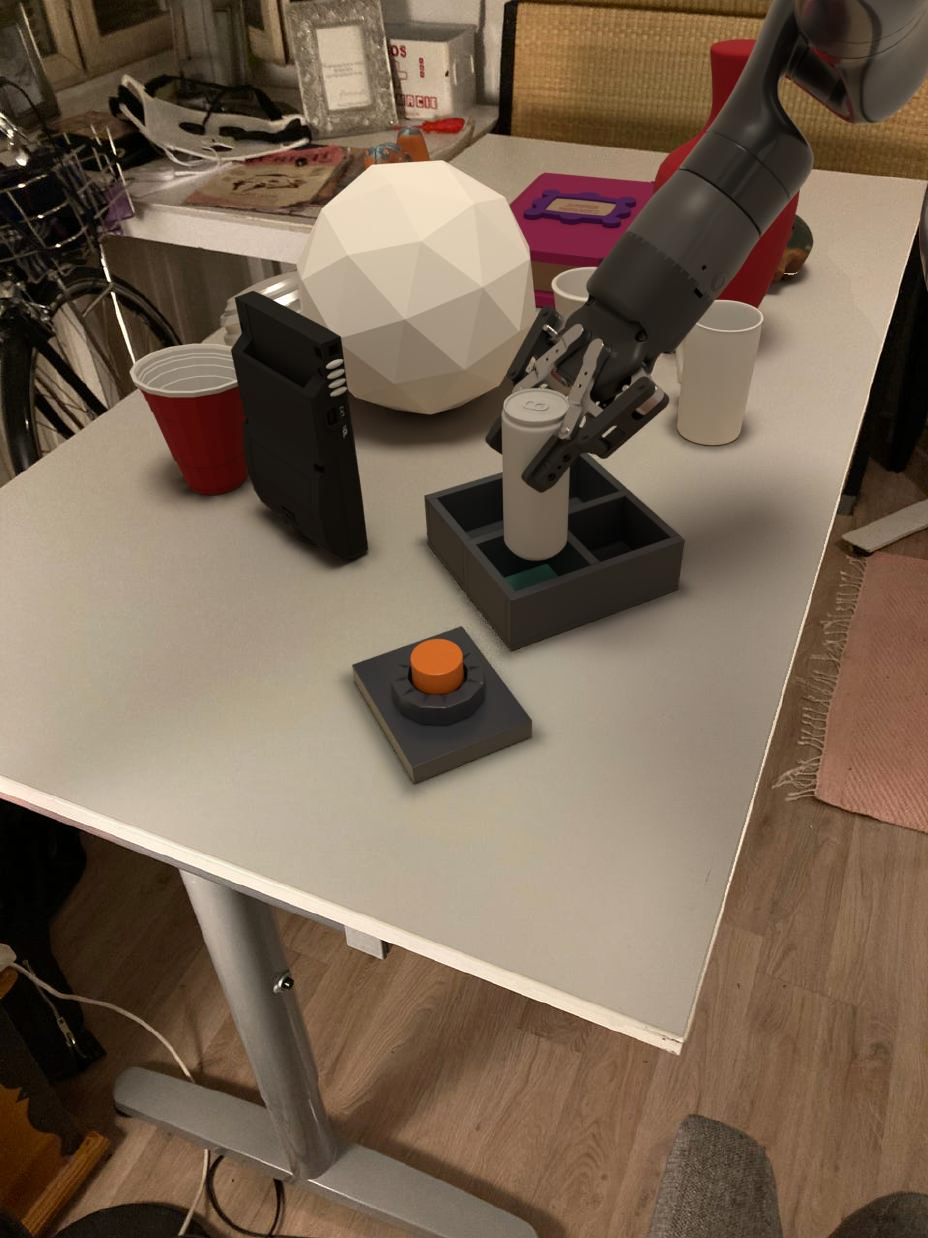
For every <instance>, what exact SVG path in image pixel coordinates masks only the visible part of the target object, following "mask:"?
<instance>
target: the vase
mask: <svg viewBox="0 0 928 1238" xmlns="http://www.w3.org/2000/svg"><path fill="white" fill-rule="evenodd" d="M756 40H757V39H753V38H752V39H751V38H738V39H737V38H736V39H735V38H734V39H726V40H722V41H718V42H715V43H713V44H711V46H710V48H709V57H710V58H709V59H710V70H711V72H710V73H711V97H712V98H711V109H710V113H709V116H708V119H707V121H706V123H705V125H704V127H703V128H702V129H701V130H700V131H699V133H698V134H696V135H695V136H694V137H692V138H691V139H689V140H688V141H687V142H685V143H683V144H681V145H680V146H678V147H677V148H675V149H673V150H672V151H671V152H670V153H668V155H666V157H665V158H664V159H663V161H661V163H660V164H659V166H658V170H657V172H656V175H655V178H654V181H655V182H654V189H653V195H654V194H655V193H656V192H657V191H658V190H659V189H660V188H661V187H662V186H663V185H664V184H665V183H666V182H667V181H668V180H669V179H670V177H671V176H672V175H673V174H674V173H675V172H676V170H678V168H679V166H680V165H681V164H682V162H683V161H684V160H685V158H686V157H687V156H688V155H689V153H690V152H691V151H692V149H693V148H694V147H695V145H696V144H697V143H698V141H699V140H700V139H701V137H702V136H703V135H704V134H705V132H706V131H707V130H708V128H709V127H710V126H711V124H712V123H713V121H714V120H715V119H716V117H717V116H718V114H719V113H720V111H721V109H722V108H723V106H724V105H725V103H726V101H727V99H728V98H729V96H730V94H731V93H732V91H733V89H734V87H735V85H736V83H737V81H738V79H739V77H740V75H741V73H742V71H743V69H744V67H745V65H746V63H747V61H748V59H749V57H750V54H751V52H752V50H753V48H754V45H755V43H756ZM800 191H801V188H800V189H799V191H798V192H797V193H796V194H795V196H794V197H793V198H792V199H791V200H790V202H789V203H788V204H787V205H786V207H785V208H784V209H783V210H782V212H781V213H780V214H779V215H778V217H777V218H776V219H775V220H774V222H773V223H772V224H771V225H770V227H769V228H768V229H767V230H766V231H765V233H764V234H763V235H762V236H761V237H760V238H759V240H758V242H757V243H756V245H755V246H754V247H753V249H752V251H751V252H750V254H749V255H748V257H747V259H746V260H745V262H744V264H743V265H742V267H741V268H740V270H739V271H738V272H737V274H736V275H735V276H734V278H733V279H732V280H731V281H730V282H729V284H728V285H727V286H726V287H725V289H724V290H723V291H722V292H721V294H720V295H719V296H718V297H717V298H716V300H730V301H737V302H742V303H745V304H748V305H751V306H753V307H755V308H757V309H758V310H759V307H760V305H761V304H762V302H763V300H764V299H765V296H766V294H767V292H768V291H769V288H770V286H771V284H772V283H771V282H772V280H773V278H774V275H775V273H776V271H777V269H778V266H779V264H780V261H781V258H782V256H783V253H784V251H785V248H786V245H787V242H788V239H789V236H790V232H791V229H792V226H793V222H794V218H795V214H796V215H797V210H798V206H799V200H800V199H799V198H800Z"/></svg>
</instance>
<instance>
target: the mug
mask: <svg viewBox="0 0 928 1238" xmlns="http://www.w3.org/2000/svg"><path fill="white" fill-rule="evenodd" d="M763 322H764V315H763V313H762V312H761V310H759V308H758V309H757V308H755V307H753V306H751V305H748V304H745V303H742V302H737V301H730V300H715V301H714V302H713V304H712V305H711V306H710V307H709V309H708V310H707V311H706V312H705V314H704V315H703V316H702V317H701V318H700V320H699V321H698V322H697V323H696V325H695V326H694V327H693V328H692V330H691V331H690V332H689V333H688V335H687V336H686V337H685V338H684V340H683V341H682V342H681V343H680V345H679V346H678V347H677V348H676V350H675V364H676V365H675V366H676V379H677V383H678V384H679V385H680V390H679V399H678V410H677V420H676V421H677V422H676V428H677V431H678V433H679V434H680V435H681V436H682V438H684V439H685V440H688V441H690V442H692V443H696V444H699V445H705V446H721V445H726V444H729V443H731V442H733V441H735V440H736V439H737V438H739V436H740V434H741V431H742V426H743V422H744V418H745V413H746V410H747V409H746V408H747V405H748V404H747V403H748V399H749V395H750V390H751V389H750V388H751V384H752V378H753V373H754V368H755V364H756V359H757V356H758V355H757V354H758V350H759V346H760V345H759V344H760V339H761V334H762V327H763Z"/></svg>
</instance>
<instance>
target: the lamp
mask: <svg viewBox="0 0 928 1238" xmlns="http://www.w3.org/2000/svg"><path fill="white" fill-rule="evenodd" d="M509 205H510V203H508V200H507V198H506V197H505V196H504V195H502V194H500V193H499V192H497V191H495V190H493V189H491V188H490V187H488V186H487V185H485V184H483V183H482V182H480V181H478V180H477V179H475V178H473V177H472V176H470V175H468V174H466V173H465V172H463V171H461V170H460V169H458V168H457V167H455V166H453V165H452V164H450V163H448V162H447V161H444V160H443V159H442V160H430V161H424V162H408V163H393V164H377V165H371V166H370V167H369V168H368V169H366V170H365V171H364V170H363V172H361V174H360V175H358V176H357V177H356V178H355V179H354V180H353V181H352V182H350V183H349V184H348V185H347V186H346V187H345V188H343V189H342V190H341V191H340V192H339V193H338V194H337V195H336V196H334V197H333V198H332V199H331V200H329V202H327V203H326V205H324V206H323V207H322V208H321V209H320V212H319V214H318V216H317V218H316V221H315V223H314V225H313V226H312V229H311V231H310V233H309V235H308V237H307V239H306V243H305V244H304V246H303V249H302V251H301V252H300V255H299V257H298V259H297V261H296V264H295V266H296V270H293V271H290V272H285V273H281V274H277V275H274V276H272V277H269V278H266V279H264V280H261V281H259V282H257V283H254V284H252V285H251V286H248V287H247V288H245V289H243V290H242V291H240V292H239V293H237V294H235V295H233V296H232V297H230V298H229V299H227V301H226V307H225V309H224V313H223V314H222V315H220V318H219V319H220V321H219V322H220V324H219V325H220V327H223V328H225V331H226V333H225V334H224V335H223V340H224V341H223V342H224V345H225V346H231V347H233V346H234V344H235V343H236V341H237V340H238V338H239V337H240V335H241V334H242V333H241V328H240V323H239V318H238V313H237V308H236V303H235V298H234V297H237V296H240V295H243V294H245V293H248V292H251V291H255V292H258V293H260V294H262V295H264V296H266V297H268V298H270V299H272V300H274V301H276V302H278V303H280V304H282V305H284V306H286V307H287V308H289V309H291V310H293V311H295V312H297V313H299V314H301V315H303V316H305V317H307V318H308V319H310V320H312V321H314V322H316V323H318V324H320V325H322V326H324V327H326V328H328V329H329V330H331V331H333V332H334V333H336V334H338V335H339V336H341V340H342V348H343V356H344V364H345V372H346V379H347V387H348V392H349V393H350V394H351V395H353V397H354V398H356V399H359V400H362V401H366V402H368V403H372V404H376V405H379V406H382V407H385V408H388V409H390V410H394V411H400V412H408V413H416V414H423V415H434V414H438V413H441V412H446V411H449V410H453V409H457V408H460V407H462V406H463V405H465V404H467V403H470V402H471V401H473V400H475V399H477V398H478V397H480V396H482V395H484V394H486V393H488V392H490V391H491V390H494V389H495V388H497V387H499V386H500V385H501V383H502V382H503V380H504V378H505V377H506V374H507V371H508V369H509V367H510V365H511V363H512V362H513V360H514V358H515V356H516V354H517V352H518V351H519V349H520V347H521V345H522V343H523V341H524V340H525V338H526V336H527V334H528V332H529V330H530V328H531V327H532V325H533V323H534V321H535V319H536V317H537V316H538V315H537V308H536V307H537V306H535V297H534V288H533V278H532V269H531V260H530V250H529V246H528V243H527V241H526V239H525V237H524V235H523V233H522V231H521V229H520V227H519V225H518V223H517V221H516V219H515V217H514V215H513V213H512V211H511V209H510V206H509Z"/></svg>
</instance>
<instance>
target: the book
mask: <svg viewBox="0 0 928 1238" xmlns="http://www.w3.org/2000/svg"><path fill="white" fill-rule="evenodd" d="M654 182H655V180H651V181H641V180H630V179H619V178H609V177H598V176H586V175H578V174H577V175H576V174H566V173H565V174H564V173H557V172H556V173H554V172H543V173H542V174H539V175H538V176H537V177H536V178H535V179H534V180H533V181H532V182H531V183H530V184H528V186H526V188H525V189H524V190H523V191H522V192H520V193H519V194H518V196H516V197H515V198H514V199H513V201H511V202H510V203H509V206H510V209H511V211H512V213H513V215H514V217H515V219H516V221H517V223H518V225H519V227H520V229H521V231H522V233H523V235H524V237H525V239H526V241H527V243H528V246H529V250H530V260H531V269H532V278H533V288H534V297H535V306H536V307H540V308H543V307H544V306H546V305H550V306H551V307H552V308H554V309H555V310H556V308H555V297H554V291H553V289H552V281H553V279H554V278H555V277H556V276H558V275H559V274H561V273H562V272H565V271H568V270H571V269H576V268H583V267H598V266H599V265H600V264H601V262H602V261H603V260H604V258H605V257H606V256H607V255H608V253H609V252H610V251H611V249H612V248H613V247H614V245H615V244H616V243H617V241H618V240H619V239H620V237H621V236H622V235H623V233H624V232H625V231H626V230H627V228H628V227H629V226H630V224H631V223H632V222H633V220H634V219H635V218H636V216H637V215H638V214H639V213H640V211H641V210H642V209H643V207H644V206H645V205H646V203H647V202H648V201H649V200H650V198H651V197H652V196H653V189H654Z"/></svg>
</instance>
